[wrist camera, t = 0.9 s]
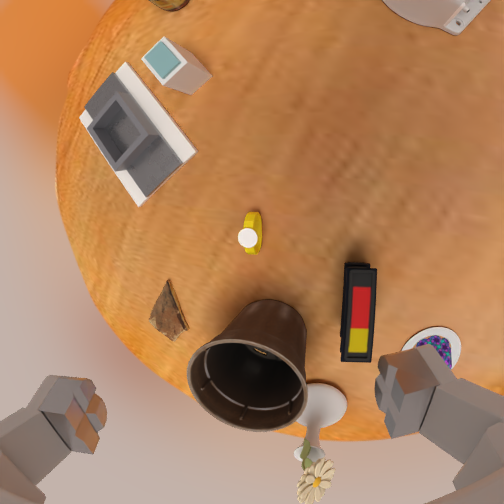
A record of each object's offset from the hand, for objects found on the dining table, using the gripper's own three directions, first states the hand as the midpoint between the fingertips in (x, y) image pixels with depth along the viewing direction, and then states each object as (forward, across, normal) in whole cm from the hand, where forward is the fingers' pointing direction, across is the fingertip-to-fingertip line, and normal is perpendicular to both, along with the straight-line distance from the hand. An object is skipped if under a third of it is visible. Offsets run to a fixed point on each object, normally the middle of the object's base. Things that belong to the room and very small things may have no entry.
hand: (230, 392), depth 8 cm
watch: (+41, -1, +8) cm, 42 cm away
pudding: (+32, -29, +31) cm, 53 cm away
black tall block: (+36, -15, +18) cm, 43 cm away
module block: (+45, +6, -18) cm, 49 cm away
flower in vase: (+36, -9, +40) cm, 55 cm away
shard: (+45, +18, +23) cm, 53 cm away
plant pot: (+39, -1, +25) cm, 47 cm away
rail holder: (+47, +18, -10) cm, 51 cm away
